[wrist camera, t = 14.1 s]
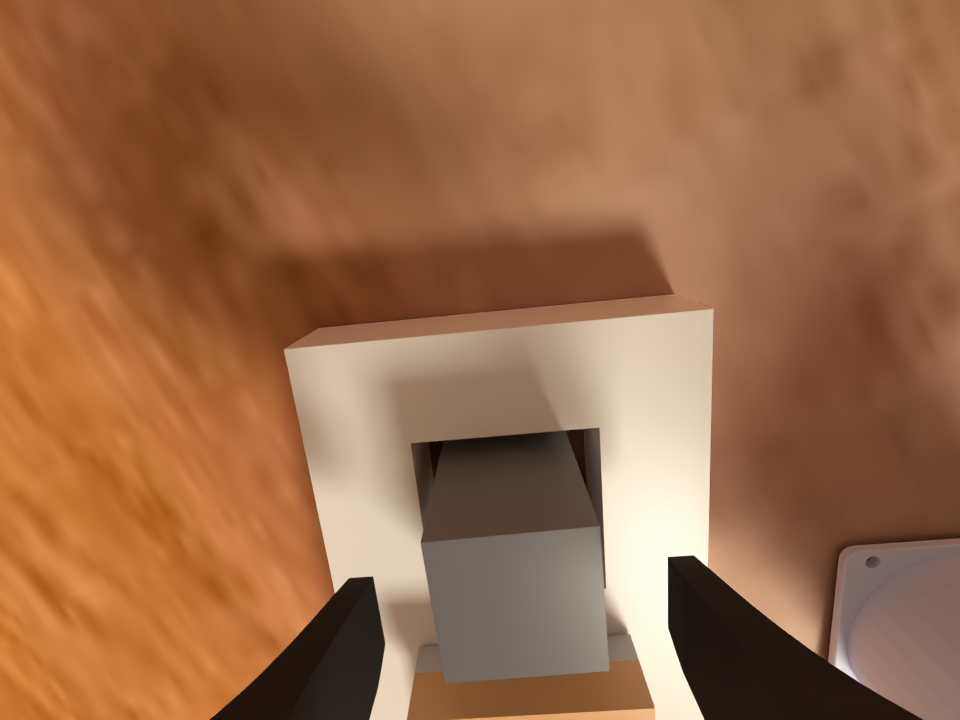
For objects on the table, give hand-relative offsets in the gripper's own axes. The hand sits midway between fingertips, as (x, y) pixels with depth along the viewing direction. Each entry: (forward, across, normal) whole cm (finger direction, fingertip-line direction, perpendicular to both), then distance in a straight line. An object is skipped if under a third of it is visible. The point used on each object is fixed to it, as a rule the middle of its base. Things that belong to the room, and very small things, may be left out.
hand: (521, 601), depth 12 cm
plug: (+6, 0, 0) cm, 7 cm away
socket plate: (+6, 0, +4) cm, 8 cm away
